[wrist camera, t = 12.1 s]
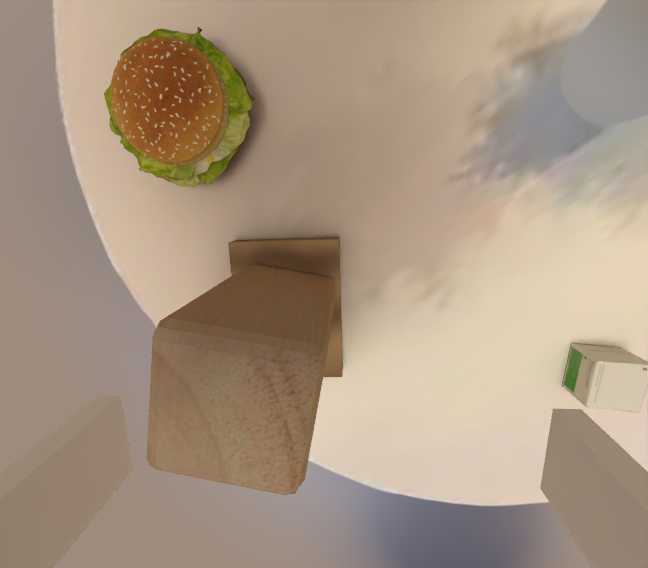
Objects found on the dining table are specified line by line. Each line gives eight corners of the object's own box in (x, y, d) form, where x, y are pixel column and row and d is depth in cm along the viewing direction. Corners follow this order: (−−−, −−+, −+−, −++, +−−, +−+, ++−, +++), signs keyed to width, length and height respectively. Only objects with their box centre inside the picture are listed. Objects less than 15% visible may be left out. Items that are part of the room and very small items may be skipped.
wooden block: (239, 344, 41) (138, 474, 21) (248, 261, 38) (145, 320, 19) (323, 360, 40) (299, 506, 21) (338, 276, 38) (327, 354, 19)
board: (235, 240, 41) (228, 242, 38) (339, 237, 40) (338, 239, 37) (247, 367, 44) (241, 377, 42) (342, 367, 43) (342, 377, 41)
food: (189, 211, 40) (151, 214, 33) (111, 102, 38) (50, 77, 31) (286, 140, 38) (269, 124, 30) (208, 19, 36) (168, -32, 28)
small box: (569, 341, 41) (598, 360, 36) (620, 345, 40) (657, 364, 36) (559, 386, 42) (585, 409, 37) (609, 390, 42) (642, 414, 37)
